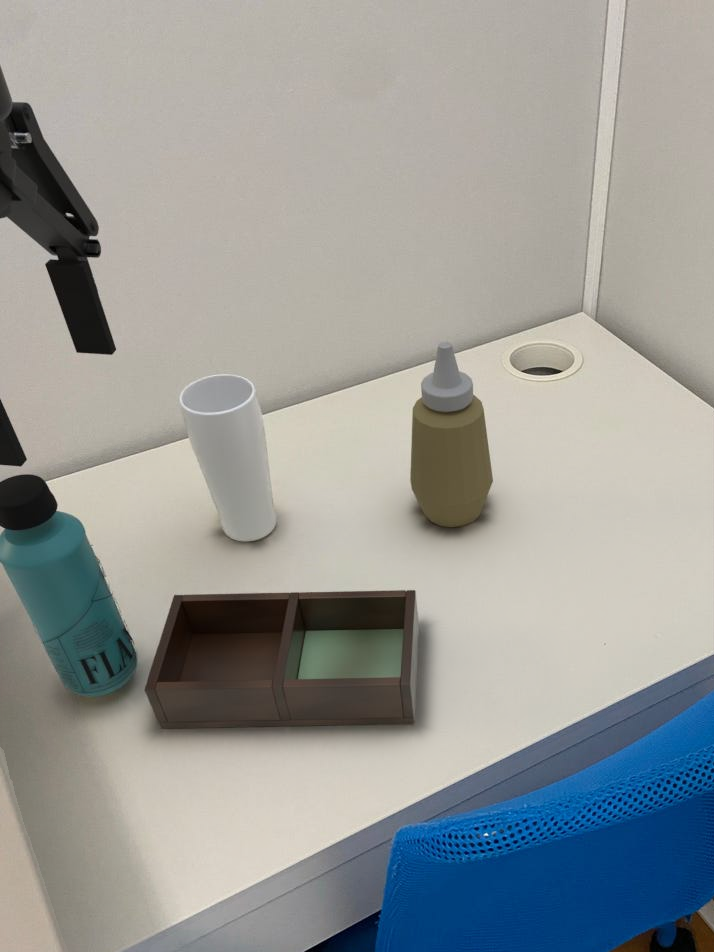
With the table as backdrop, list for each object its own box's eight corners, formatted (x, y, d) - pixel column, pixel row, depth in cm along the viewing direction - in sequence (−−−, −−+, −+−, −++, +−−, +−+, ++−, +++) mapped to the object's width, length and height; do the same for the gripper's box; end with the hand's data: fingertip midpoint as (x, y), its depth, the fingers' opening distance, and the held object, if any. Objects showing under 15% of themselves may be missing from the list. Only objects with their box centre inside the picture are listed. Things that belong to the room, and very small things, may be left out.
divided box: (160, 728, 75) (143, 689, 72) (187, 634, 82) (173, 594, 79) (414, 723, 75) (410, 684, 71) (419, 629, 82) (415, 589, 79)
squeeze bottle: (472, 544, 90) (467, 377, 77) (398, 523, 92) (381, 357, 80) (506, 497, 95) (506, 332, 82) (435, 478, 98) (424, 315, 85)
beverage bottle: (98, 723, 76) (2, 530, 61) (49, 686, 78) (-54, 494, 64) (162, 674, 79) (85, 481, 65) (113, 641, 82) (29, 449, 68)
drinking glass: (208, 549, 90) (168, 414, 79) (224, 505, 95) (188, 372, 84) (278, 549, 90) (247, 414, 79) (290, 505, 95) (263, 372, 84)
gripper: (-176, 122, 39) (16, 523, 54) (85, -20, 56) (174, 316, 71) (-338, 117, 40) (-104, 513, 55) (-32, -21, 57) (81, 311, 72)
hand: (53, 402), depth 63 cm, fingers open, 13 cm apart
